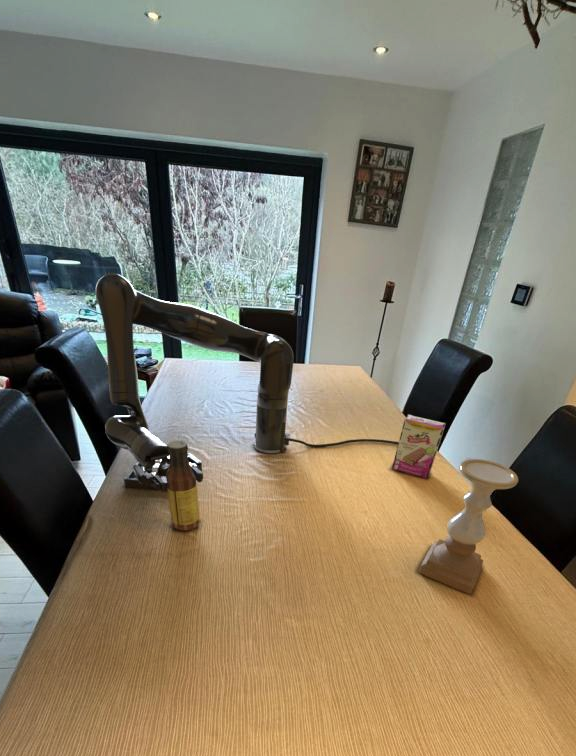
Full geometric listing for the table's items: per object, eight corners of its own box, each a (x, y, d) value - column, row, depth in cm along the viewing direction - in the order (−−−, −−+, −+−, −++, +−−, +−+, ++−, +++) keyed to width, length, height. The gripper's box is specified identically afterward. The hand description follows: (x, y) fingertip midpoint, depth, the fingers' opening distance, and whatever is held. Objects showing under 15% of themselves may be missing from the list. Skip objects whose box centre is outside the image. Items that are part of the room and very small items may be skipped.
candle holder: (471, 595, 83) (517, 492, 70) (417, 572, 87) (451, 472, 74) (481, 566, 91) (524, 469, 78) (432, 546, 95) (465, 452, 82)
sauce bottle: (204, 520, 97) (201, 441, 86) (190, 535, 92) (185, 453, 81) (179, 513, 98) (173, 435, 87) (165, 527, 93) (156, 446, 82)
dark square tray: (191, 465, 119) (190, 458, 117) (178, 491, 106) (177, 483, 105) (143, 461, 118) (142, 454, 117) (125, 486, 106) (123, 479, 105)
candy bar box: (391, 470, 126) (403, 418, 117) (394, 463, 130) (407, 413, 121) (428, 480, 123) (444, 428, 114) (430, 473, 127) (446, 422, 118)
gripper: (120, 445, 93) (148, 475, 83) (179, 433, 101) (212, 460, 90) (124, 474, 97) (152, 507, 87) (181, 461, 105) (212, 489, 94)
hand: (182, 483), depth 89 cm, fingers open, 8 cm apart
